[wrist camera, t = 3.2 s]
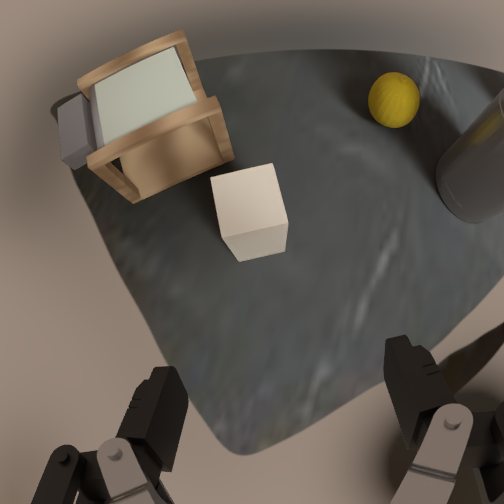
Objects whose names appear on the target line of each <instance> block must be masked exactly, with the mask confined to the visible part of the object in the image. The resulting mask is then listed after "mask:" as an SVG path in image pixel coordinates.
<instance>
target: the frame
mask: <svg viewBox="0 0 504 504" xmlns="http://www.w3.org/2000/svg"><path fill="white" fill-rule="evenodd" d="M173 45H176V48H177V51H178V53H179V56H180V59H181V61H182V64H183V66H184V69H185V72H186V74H187V77H188V80H189V82H190V85H191V88H192V90H193V93H194V95H195V97H196V100H197V103H195V104H192V105H190V106H188V107H185V108H183V109H180V110H178V111H176V112H174V113H171V114H169V115H167V116H165V117H162V118H160V119H158V120H156V121H154V122H152V123H149V124H147V125H145V126H143V127H141V128H139V129H137V130H135V131H133V132H131V133H129V134H127V135H125V136H123V137H121V138H119V139H117V140H115V141H113V142H112V143H110V144H108V145H106V146H104V147H102V148H101V149H99V150H97V151H95V152H93V153H92V154H90V155H88V156H86V159H87V165H88V168H89V169H90V170H92V171H93V172H94V173H95V174H96V175H98V176H99V177H100V178H101V179H103V180H104V181H105V182H106V183H108V184H109V185H110V186H111V187H112V188H114V189H115V190H116V191H117V192H119V193H120V194H121V195H122V196H124V197H125V198H126V199H127V200H129V201H130V202H131V203H132V204H135V203H137V202H139V201H141V200H143V199H145V198H147V197H150V196H152V195H154V194H156V193H158V192H160V191H162V190H165V189H167V188H169V187H171V186H173V185H176V184H178V183H180V182H182V181H185V180H187V179H189V178H191V177H194V176H196V175H198V174H201V173H203V172H205V171H208V170H210V169H212V168H215V167H217V166H220V165H222V164H225V163H227V162H229V161H232V160H234V159H235V158H234V154H233V150H232V147H231V143H230V140H229V136H228V132H227V129H226V125H225V121H224V118H223V114H222V111H221V107H220V104H219V102H218V100H217V98H216V96H212V97H210V98H207V96H206V94H205V92H204V90H203V87H202V84H201V81H200V78H199V75H198V72H197V69H196V66H195V63H194V60H193V58H192V54H191V51H190V48H189V45H188V42H187V39H186V36H185V34H184V32H183V30H182V29H181V30H179V31H176V32H173V33H171V34H169V35H166V36H164V37H161V38H159V39H156V40H154V41H152V42H149V43H147V44H145V45H143V46H141V47H138V48H136V49H134V50H132V51H130V52H128V53H126V54H124V55H122V56H120V57H118V58H116V59H114V60H112V61H110V62H108V63H106V64H104V65H103V66H100V67H99V68H97V69H95V70H93V71H91V72H90V73H88V74H86V75H84V76H83V77H81V78H79V79H78V80H77V83H78V87H79V89H80V90H81V91H82V92H83V94H84V95H85V96H86V97H87V98H88V100H89V101H90V98H89V90H88V89H89V87H90V86H91V85H94V83H96V82H97V81H99V80H101V79H103V78H105V77H107V76H108V75H110V74H112V73H114V72H116V71H118V70H120V69H122V68H124V67H126V66H128V65H130V64H132V63H134V62H136V61H139V60H141V59H143V58H145V57H147V56H150V55H152V54H154V53H156V52H158V51H161V50H163V49H166V48H168V47H171V46H173ZM118 157H120V161H121V165H122V169H123V173H124V175H123V174H122V173H121V172H120V171H119V170H118V169H117V168H116V167H115V166H114V165H113V164H112V163H111V161H112V160H114V159H116V158H118Z"/></svg>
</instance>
